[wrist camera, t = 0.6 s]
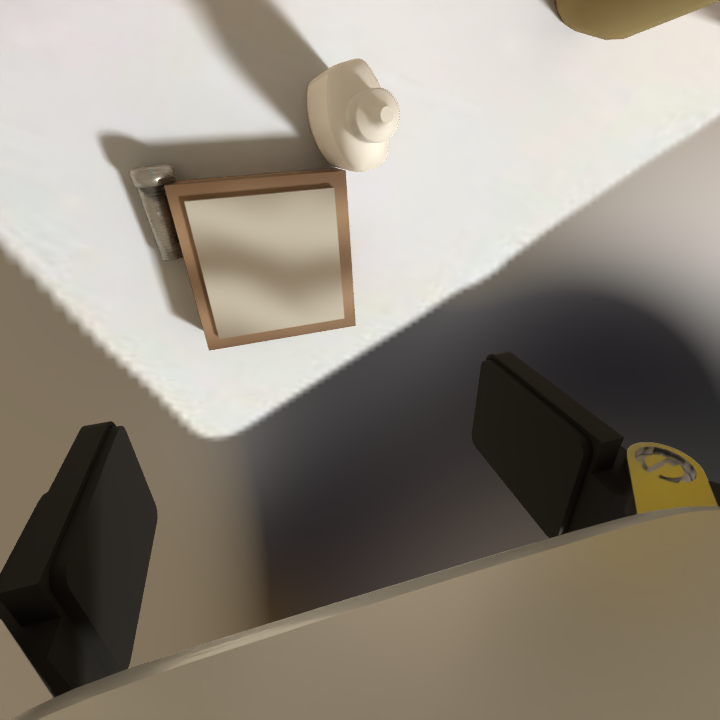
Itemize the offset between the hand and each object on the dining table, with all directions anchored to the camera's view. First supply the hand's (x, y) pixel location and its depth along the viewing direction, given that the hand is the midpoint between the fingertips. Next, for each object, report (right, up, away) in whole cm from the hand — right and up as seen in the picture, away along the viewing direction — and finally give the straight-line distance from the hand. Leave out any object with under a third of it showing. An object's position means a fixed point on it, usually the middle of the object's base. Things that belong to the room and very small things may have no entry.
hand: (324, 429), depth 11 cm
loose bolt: (-14, +12, +18) cm, 25 cm away
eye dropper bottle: (-1, +19, +19) cm, 27 cm away
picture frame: (-6, +10, +22) cm, 25 cm away
